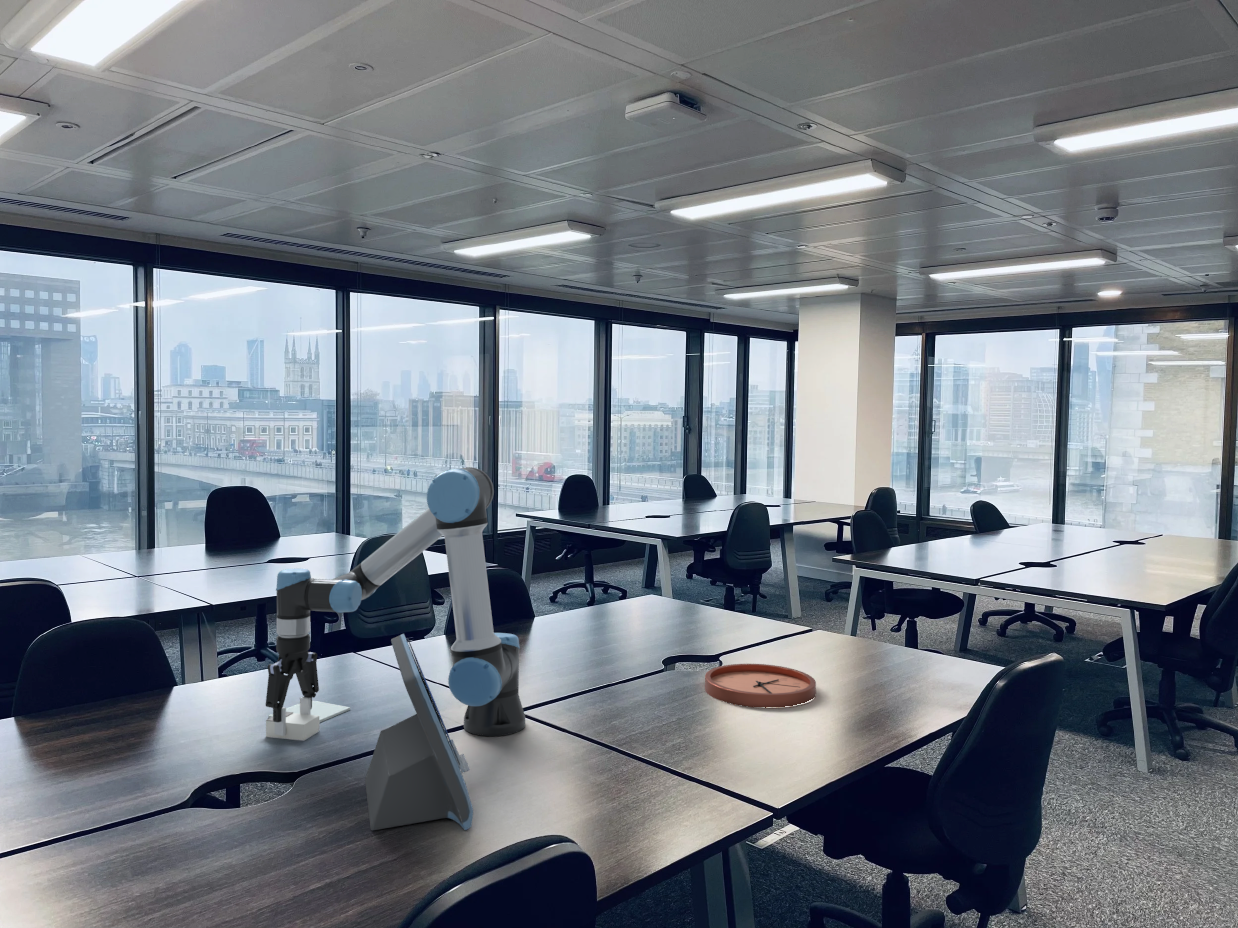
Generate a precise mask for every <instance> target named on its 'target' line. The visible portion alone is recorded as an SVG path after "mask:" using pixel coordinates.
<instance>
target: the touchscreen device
mask: <svg viewBox="0 0 1238 928" xmlns="http://www.w3.org/2000/svg"><path fill="white" fill-rule="evenodd" d="M390 642H391V646H392V649H393V652H394V656H395V660H396V661H397V664H398V665H397V666H398V669H399V671H400V675H401V678H402V682H403V683H404V687H405V690H406V691H407V695H408V696H409V699H410V701H411V704H412V706H413V708H414V711H415V714H413V715H412V716H411V715H410V716H409V717H407V718H406V719H403V720H402V721H399V722H397V723H394V724H393V725H391V726H390V727H387V728H385V729H382V730H380V732H379V736H378V737H377V738H378V739H377V742H376V744H375V748H374V751H373V754H372V757H371V760H370V763H369V767H368V768H367V769H368V770H367V773H366V776H365V780H364V783H365V793H366V799H367V800H366V801H367V810H368V811H367V812H368V818H369V827H370V830H371V831H372V832H373V831H378V830H383V829H390V828H396V827H400V826H401V827H402V826H406V825H412V824H413V825H414V824H417V823H424V822H431V821H435V820H440V819H451V820H453V821H454V822H456V823H457V824H458V825H459V826H460V827H461V828H462V829H463V830H464V831H467V830H468V829H470V828H471V827H472V824H473V819H474V818H473V817H474V809H473V805H472V801H471V797H470V795H469V790H468V788H467V787H468V786H467V785H466V782H465V779H464V777H463V774H464V773H467V772H468V771H470V770H471V769H470V765H469V763H468V761H467V759H466V755H465V754H464V753H462V754H460V753H459V751H458V749H457V746H456V744H455V742H454V739H451V738H450V735H449V733H448V730H447V728H446V726H445V723H444V720H443V718H442V716H441V715H442V714H440V710H439V709H438V708H439V707H438V706H437V703H436V701H435V698H434V696H433V694H432V691H431V689H430V687H429V684H428V682H427V680H426V678H425V674H424V672H423V670H422V668H421V666H420V663H419V660H418V658H417V656H416V654H415V650H414V649H413V646H412V644H411V642H410V640H409V637H406V635H405V633H402V634H400V635H398V636H396V637H393V638H391V640H390Z"/></svg>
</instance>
